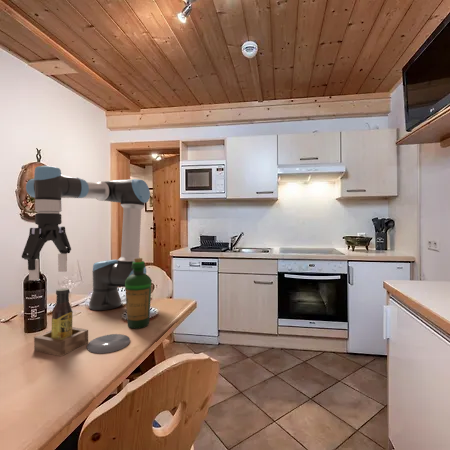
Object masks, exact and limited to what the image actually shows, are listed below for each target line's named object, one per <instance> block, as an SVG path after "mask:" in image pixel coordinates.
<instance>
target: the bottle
mask: <svg viewBox="0 0 450 450" xmlns="http://www.w3.org/2000/svg"><path fill="white" fill-rule="evenodd" d="M134 260H135V261H134V262H133V263H132V268H133V274H132V275H130V276H129V277H127V279H126V280H125V287H124V289H125V302H126V319H127V327H128V328H129V329H135V330H136V329H143V328H145V327H147V326H148V325H150V316H151V315H150V314H151V299H152V297H151V296H152V295H151V294H152V283H153V282H152V278H151V277H150V275H148V274H147V273H146V274H145V273H144V267H146V263H145V261H144V260H143V258H142V257H139V258H135V259H134Z"/></svg>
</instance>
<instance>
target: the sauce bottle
mask: <svg viewBox="0 0 450 450" xmlns="http://www.w3.org/2000/svg"><path fill="white" fill-rule="evenodd" d="M55 294H56V303H55V306H54V307H53V308H52V314H51V316H52V317H51V330H52V333H51V338H54V339H59V340H63V339H65V338H67V337H69V336H71V335H72V327H73V309H72V307H71V302H70V298H69V297H70V288H67V287H66V288H64V287H63V288H58V289H56V291H55Z"/></svg>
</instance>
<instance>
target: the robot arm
mask: <svg viewBox="0 0 450 450" xmlns="http://www.w3.org/2000/svg"><path fill="white" fill-rule="evenodd" d="M25 191H26V193H27V194H28V195H29V196H30V197H31V198H33V199H34V209H35V210H34V211H35V212H36V213H35V214H34V224H35V225H37V226H38V227H30V228H29V233H28V234H29V235H28V237H27V240H26V243H25V244H24V245H25V246H24V248H23V251H22V253H21V259H24V260H27V270H28V280H29V281H39V280H40V263H39V262H40V260H39V258H38V257H39V255H40V253H41V251H42V249H43V247H44V245H45V244H46V243H48V242H49V241H52V242H53V244H54V246H55V248H56V249H57V251H58V252H59V253H58V254H57V262H58V263H57V265H58V268H57V269H58V272H63V273H65V272H67V271H68V268H67V267H68V264H67V263H68V262H67V261H68V254H70V253H71V251H72V247H71V245H70V241H69V239H68V236H67V232H66V227H65V226H59V225H61V224H62V223H63V221H62V214H61V212H62V211H63V210H62V199H95V200H98V201H102V202H103V201H104V202H112V203H120V206H121V207H122V209H123V211H122V213H123V214H122V229H121V230H122V231H121V233H122V234H121V248H120V249H121V251H120V257H119V258H118V259H107V260H101V261H97V262H94V263H93V266H92V294H91V297H90V300H89V301H88V303H89V304H88V308H89V309H90V310H93V311H105V310H106V311H108V310H112V309H116V308H118V307H120V306H121V305H122V298H121V296H120V293H119V288H121V287H122V288H125V280H126V279H127V277H129V276H130V275H132V274H133V268H132V263H133V262H134V261H135V260H134V259H135V258H140V246H141V245H140V243H141V225H142V222H141V221H142V210H143V209H144V208H145V207H146V203H148V202H149V200H150V198H151V192H150V187H149V186H148V183H146V181H145V180H143V179H140V178H139V179H138V178H137V179H136V178H133V179H131V178H130V179H115V180H105V181H104V180H103V181H101V180H99V181H97V182H92V181H86V180H85V179H84V178H80V177H74V176H67V175H64V174H62V170H61V169H60V168H59V167H57V166H50V165H38V166H36V167H35V168H34V176H33V178H31V179H29V180H28V181H27V182H26V184H25ZM144 273H145V274H146V275H147V267H146V266H145V267H144ZM118 287H119V288H118Z"/></svg>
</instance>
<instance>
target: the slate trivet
mask: <svg viewBox="0 0 450 450" xmlns="http://www.w3.org/2000/svg"><path fill="white" fill-rule="evenodd" d="M130 339H131V338H130V336H127V335H125V334H120V333H119V334H118V333H112V334H105V335H102V336H98V337H95V338H93V339H92V340H90V341H88V343H87V344H86V349H87V351H89V352H90V353H93V354H110V353H114V352H118V351H120V350H122V349H124V348H126V347H128V346H129V344H130V343H131V340H130Z"/></svg>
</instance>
